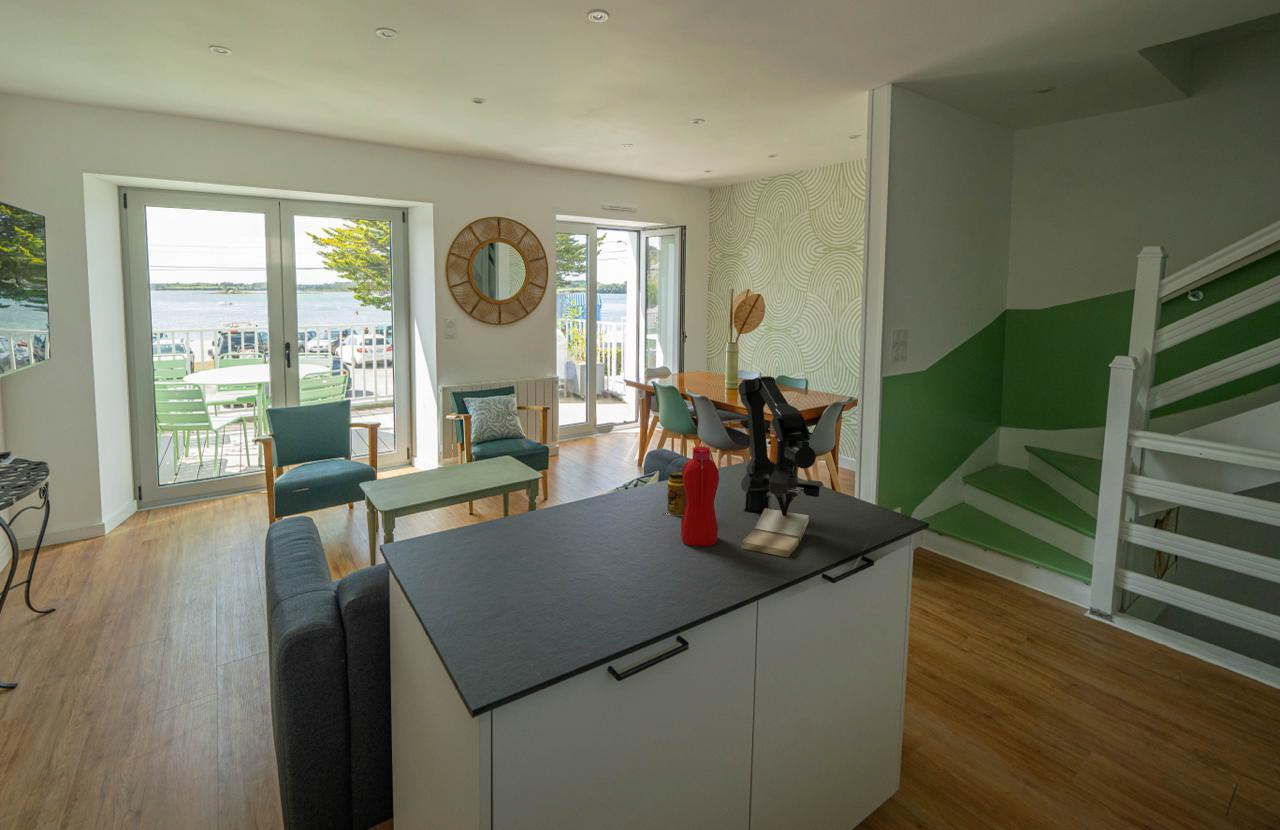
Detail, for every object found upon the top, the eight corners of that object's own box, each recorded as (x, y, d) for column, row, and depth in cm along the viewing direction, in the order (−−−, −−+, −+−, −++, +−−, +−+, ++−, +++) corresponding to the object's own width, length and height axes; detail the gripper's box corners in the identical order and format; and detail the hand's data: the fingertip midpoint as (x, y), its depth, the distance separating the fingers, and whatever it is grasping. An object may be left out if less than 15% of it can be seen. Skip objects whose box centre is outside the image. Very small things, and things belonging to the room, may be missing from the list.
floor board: (741, 549, 164) (741, 541, 164) (753, 536, 173) (754, 529, 172) (788, 558, 158) (788, 550, 158) (798, 544, 167) (799, 537, 167)
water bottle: (682, 550, 163) (684, 453, 158) (680, 534, 174) (682, 443, 169) (719, 550, 163) (722, 453, 158) (714, 535, 174) (717, 443, 169)
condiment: (662, 514, 190) (663, 474, 188) (671, 505, 198) (672, 467, 195) (686, 517, 187) (687, 477, 185) (694, 508, 195) (695, 469, 193)
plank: (755, 534, 173) (754, 528, 172) (765, 514, 180) (764, 508, 179) (800, 542, 168) (799, 536, 167) (808, 521, 175) (808, 515, 174)
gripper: (743, 461, 170) (741, 518, 173) (815, 470, 161) (812, 530, 164) (756, 452, 179) (754, 506, 182) (825, 460, 171) (822, 517, 174)
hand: (784, 515), depth 175 cm, fingers closed, pressing on plank
